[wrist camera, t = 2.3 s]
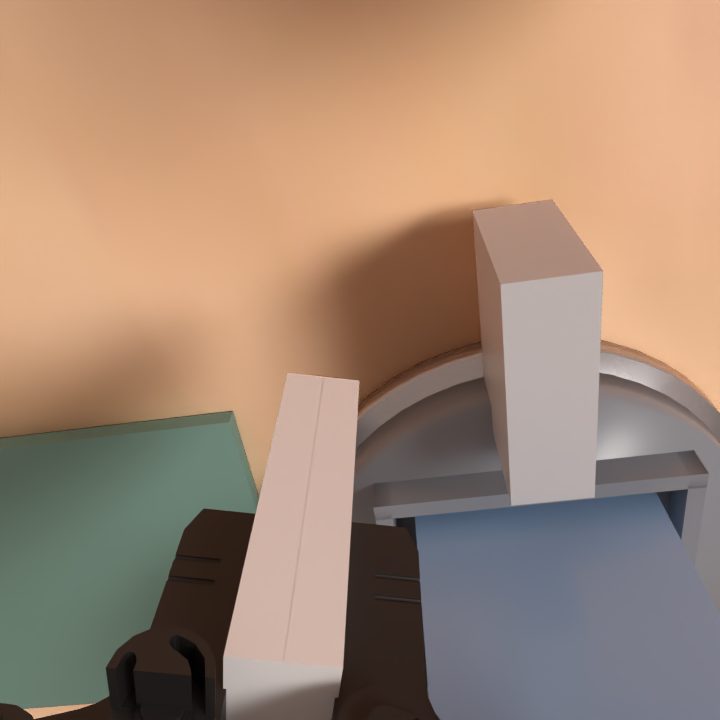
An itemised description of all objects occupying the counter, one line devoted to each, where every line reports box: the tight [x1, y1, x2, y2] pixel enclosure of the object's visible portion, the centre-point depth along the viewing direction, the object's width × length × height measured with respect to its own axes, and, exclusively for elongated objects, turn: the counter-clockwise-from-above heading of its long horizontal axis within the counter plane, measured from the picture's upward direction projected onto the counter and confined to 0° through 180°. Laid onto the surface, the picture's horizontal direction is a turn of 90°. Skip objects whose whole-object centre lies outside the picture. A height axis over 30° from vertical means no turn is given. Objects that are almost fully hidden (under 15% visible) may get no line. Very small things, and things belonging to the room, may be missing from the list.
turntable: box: [351, 200, 720, 697], centre depth 20 cm, size 14×19×4 cm
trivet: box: [0, 411, 259, 709], centre depth 26 cm, size 14×14×1 cm
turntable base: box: [356, 341, 720, 449], centre depth 24 cm, size 15×15×1 cm
